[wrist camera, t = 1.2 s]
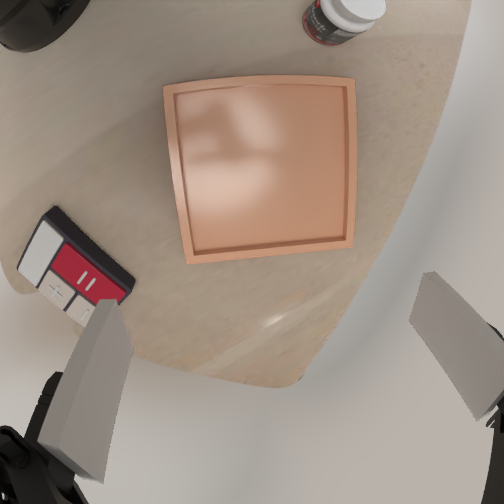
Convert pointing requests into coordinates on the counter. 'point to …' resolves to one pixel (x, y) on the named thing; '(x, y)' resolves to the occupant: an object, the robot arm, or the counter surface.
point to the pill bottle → (341, 19)
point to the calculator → (71, 267)
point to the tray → (263, 164)
